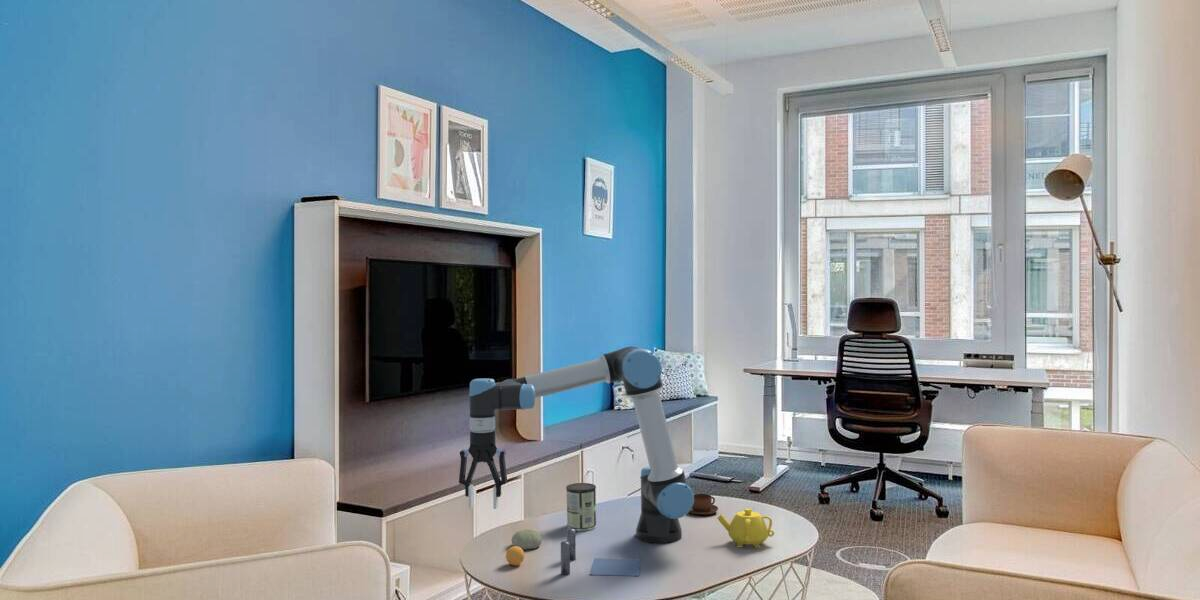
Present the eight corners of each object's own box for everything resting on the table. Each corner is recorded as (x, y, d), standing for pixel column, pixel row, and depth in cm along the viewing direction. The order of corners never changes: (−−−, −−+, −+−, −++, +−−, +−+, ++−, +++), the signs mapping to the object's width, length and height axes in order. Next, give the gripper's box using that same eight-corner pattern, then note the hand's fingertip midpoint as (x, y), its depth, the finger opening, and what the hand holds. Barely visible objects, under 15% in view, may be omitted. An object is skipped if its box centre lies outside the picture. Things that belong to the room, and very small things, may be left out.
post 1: (570, 572, 228) (570, 541, 228) (569, 575, 225) (569, 543, 225) (561, 571, 228) (561, 541, 228) (560, 575, 226) (560, 543, 225)
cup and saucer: (696, 506, 298) (696, 490, 298) (724, 512, 290) (724, 495, 290) (678, 513, 289) (678, 496, 289) (707, 519, 281) (706, 502, 281)
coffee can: (577, 521, 280) (577, 481, 280) (601, 525, 274) (601, 484, 274) (560, 528, 271) (560, 487, 271) (585, 532, 266) (585, 491, 266)
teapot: (748, 534, 263) (748, 500, 263) (778, 544, 251) (778, 509, 251) (716, 542, 255) (715, 507, 255) (745, 553, 243) (745, 517, 243)
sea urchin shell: (540, 545, 247) (521, 526, 248) (522, 563, 248) (504, 543, 249) (547, 536, 256) (530, 517, 257) (531, 553, 257) (513, 534, 258)
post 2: (576, 557, 240) (575, 528, 240) (575, 560, 238) (574, 530, 238) (567, 557, 241) (567, 528, 241) (566, 560, 238) (566, 530, 238)
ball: (526, 562, 237) (525, 543, 237) (522, 568, 231) (522, 549, 231) (508, 561, 237) (507, 543, 237) (504, 567, 232) (504, 549, 232)
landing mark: (640, 559, 238) (640, 559, 238) (638, 576, 224) (638, 575, 224) (594, 558, 239) (594, 558, 239) (589, 575, 225) (589, 574, 225)
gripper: (446, 432, 233) (447, 510, 233) (512, 433, 231) (513, 511, 231) (453, 428, 240) (454, 503, 240) (517, 428, 238) (518, 504, 238)
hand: (483, 507), depth 235 cm, fingers open, 7 cm apart
